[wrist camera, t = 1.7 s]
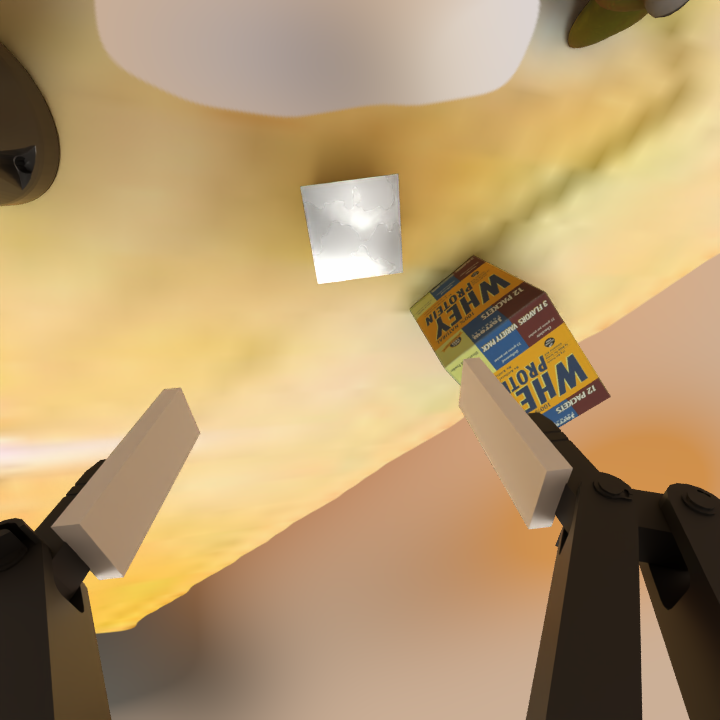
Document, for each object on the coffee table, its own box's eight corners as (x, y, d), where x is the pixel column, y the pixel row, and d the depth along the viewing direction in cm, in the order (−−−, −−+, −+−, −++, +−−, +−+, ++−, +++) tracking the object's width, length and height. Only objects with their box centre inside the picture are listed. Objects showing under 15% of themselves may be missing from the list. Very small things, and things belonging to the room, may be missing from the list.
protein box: (472, 252, 39) (547, 289, 25) (530, 333, 45) (614, 398, 32) (407, 309, 42) (442, 369, 28) (469, 378, 48) (522, 454, 35)
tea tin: (310, 185, 34) (300, 186, 24) (378, 176, 34) (398, 173, 24) (322, 255, 38) (317, 283, 27) (383, 247, 38) (402, 272, 27)
